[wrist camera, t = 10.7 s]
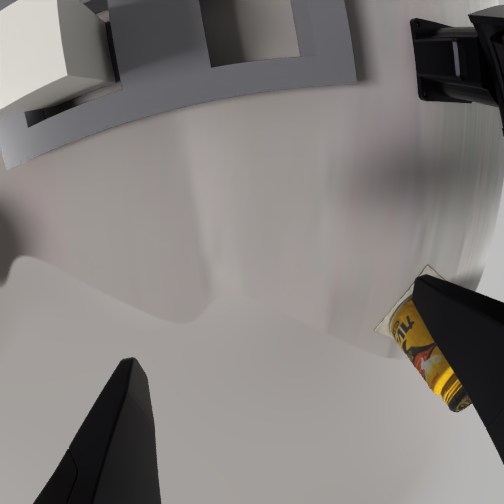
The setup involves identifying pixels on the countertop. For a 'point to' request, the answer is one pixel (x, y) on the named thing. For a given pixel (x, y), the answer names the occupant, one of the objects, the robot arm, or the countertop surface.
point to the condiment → (423, 349)
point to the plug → (50, 54)
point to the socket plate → (181, 70)
